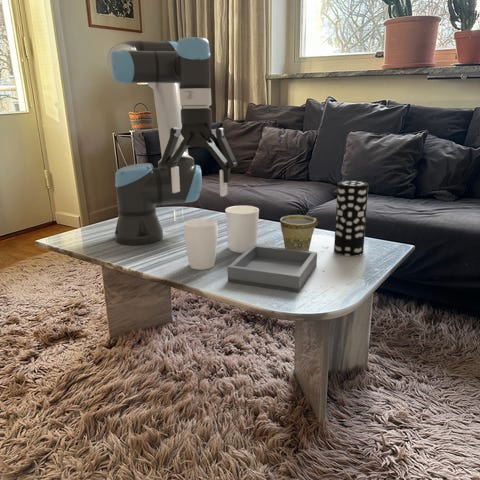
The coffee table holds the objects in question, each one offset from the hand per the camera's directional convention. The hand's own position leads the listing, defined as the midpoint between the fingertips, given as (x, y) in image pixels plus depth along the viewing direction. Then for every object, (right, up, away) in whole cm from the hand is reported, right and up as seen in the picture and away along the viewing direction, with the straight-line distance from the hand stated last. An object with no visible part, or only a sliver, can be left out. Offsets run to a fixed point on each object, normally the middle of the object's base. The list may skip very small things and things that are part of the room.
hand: (199, 193), depth 117 cm
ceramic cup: (+28, -15, +16) cm, 36 cm away
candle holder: (+11, -15, +20) cm, 27 cm away
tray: (+19, -20, 0) cm, 28 cm away
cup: (0, -19, +6) cm, 20 cm away
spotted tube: (+42, -15, +16) cm, 47 cm away
